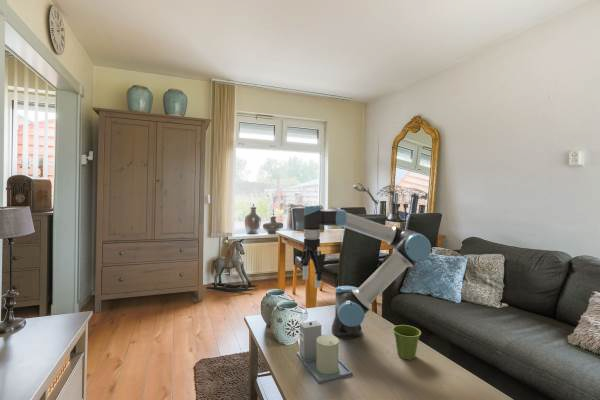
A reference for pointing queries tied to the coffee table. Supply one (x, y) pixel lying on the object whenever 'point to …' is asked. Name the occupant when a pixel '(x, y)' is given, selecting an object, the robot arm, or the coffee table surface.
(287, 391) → the coffee table surface
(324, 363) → the can
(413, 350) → the plant pot
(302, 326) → the box
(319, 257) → the robot arm
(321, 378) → the tray
